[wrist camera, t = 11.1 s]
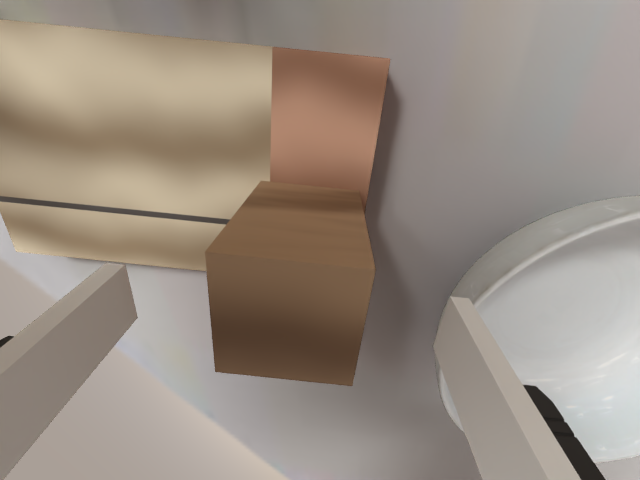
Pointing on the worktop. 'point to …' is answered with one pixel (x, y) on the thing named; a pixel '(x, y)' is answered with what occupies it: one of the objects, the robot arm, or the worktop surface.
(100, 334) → the robot arm
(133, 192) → the maple board
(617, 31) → the worktop surface
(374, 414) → the worktop surface
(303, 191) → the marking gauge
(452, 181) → the worktop surface
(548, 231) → the serving bowl
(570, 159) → the worktop surface
